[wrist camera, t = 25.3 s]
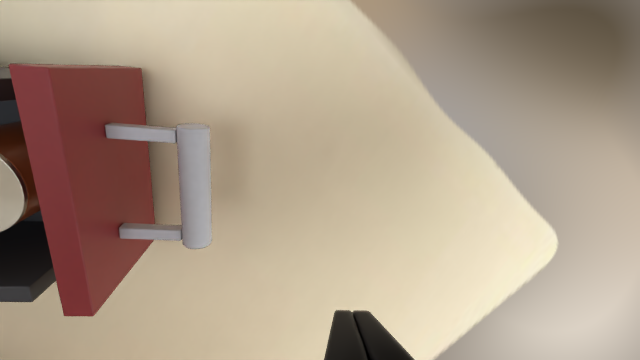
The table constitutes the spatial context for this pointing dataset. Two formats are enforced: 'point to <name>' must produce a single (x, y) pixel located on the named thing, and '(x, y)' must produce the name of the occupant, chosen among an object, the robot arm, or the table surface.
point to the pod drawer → (93, 182)
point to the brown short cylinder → (15, 177)
